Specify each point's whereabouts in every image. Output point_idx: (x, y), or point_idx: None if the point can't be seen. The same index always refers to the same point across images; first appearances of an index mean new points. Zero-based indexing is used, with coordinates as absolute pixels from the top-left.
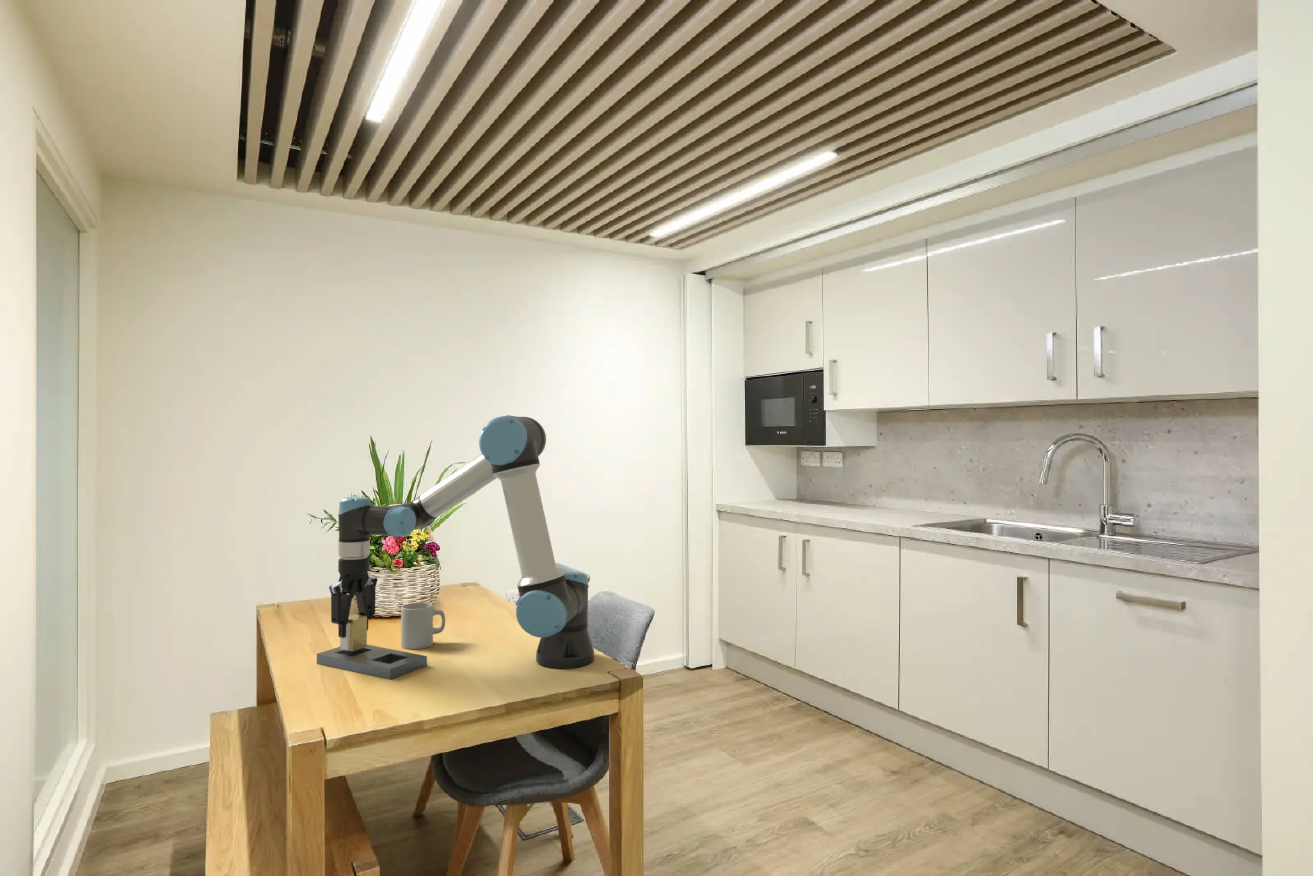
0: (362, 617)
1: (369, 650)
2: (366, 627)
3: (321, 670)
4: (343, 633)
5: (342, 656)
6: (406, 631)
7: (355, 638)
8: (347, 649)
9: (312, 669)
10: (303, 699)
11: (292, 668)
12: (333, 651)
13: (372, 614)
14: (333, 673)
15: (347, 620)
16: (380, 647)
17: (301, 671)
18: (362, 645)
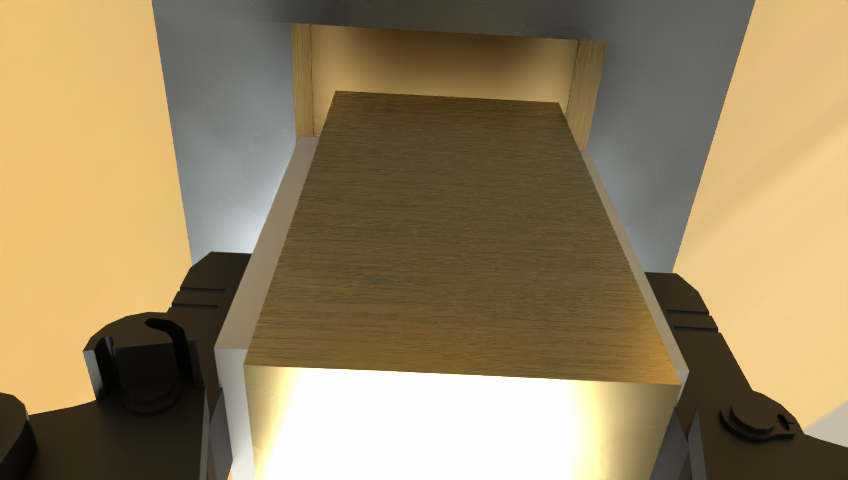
0: (384, 370)
1: (296, 72)
2: (300, 219)
3: (771, 176)
4: (680, 316)
5: (643, 138)
6: None
7: (536, 167)
8: (589, 161)
9: (760, 258)
10: None
11: (766, 386)
12: None
13: (4, 410)
14: (841, 5)
15: (713, 455)
16: (164, 11)
17: (826, 290)
18: (400, 109)
